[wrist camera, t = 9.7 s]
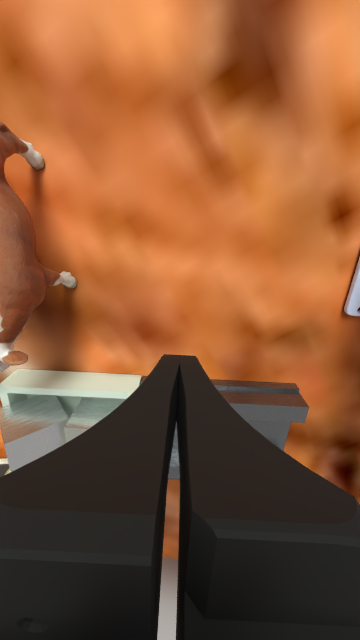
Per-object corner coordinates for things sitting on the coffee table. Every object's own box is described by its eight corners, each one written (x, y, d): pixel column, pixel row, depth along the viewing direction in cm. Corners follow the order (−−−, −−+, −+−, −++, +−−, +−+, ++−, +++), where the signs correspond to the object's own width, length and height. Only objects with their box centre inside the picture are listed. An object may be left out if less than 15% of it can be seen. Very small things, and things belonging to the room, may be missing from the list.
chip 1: (52, 390, 21) (68, 418, 19) (57, 426, 23) (72, 457, 20) (-5, 409, 19) (4, 444, 16) (5, 448, 20) (14, 486, 17)
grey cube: (131, 395, 21) (120, 432, 18) (131, 431, 23) (120, 471, 19) (85, 391, 21) (64, 427, 18) (87, 427, 23) (68, 467, 19)
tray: (141, 375, 21) (136, 393, 19) (142, 454, 24) (138, 477, 22) (17, 368, 21) (-3, 385, 19) (35, 448, 24) (20, 471, 22)
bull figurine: (34, 331, 20) (-59, 399, 12) (-21, 128, 15) (-233, 30, 7) (88, 330, 20) (28, 398, 12) (51, 125, 15) (-91, 20, 7)
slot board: (295, 383, 21) (309, 404, 19) (275, 460, 24) (285, 486, 22) (142, 376, 21) (137, 395, 19) (143, 453, 24) (139, 479, 22)
